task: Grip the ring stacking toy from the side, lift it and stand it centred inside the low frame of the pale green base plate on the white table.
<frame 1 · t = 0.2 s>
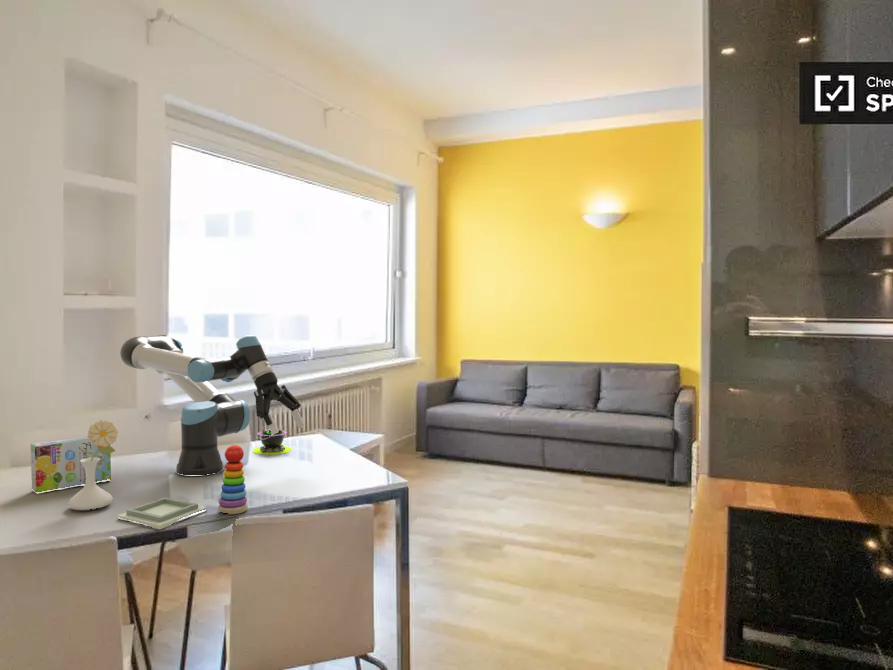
hand: (289, 430, 223), 15 cm above the table, tool tilted 35°, fingers open, 13 cm apart
snack box: (72, 487, 205), on the table
stacking toy: (233, 511, 184), on the table
toy cauldron: (272, 451, 257), on the table
base plate: (162, 515, 179), on the table
flower in vase: (94, 507, 185), on the table
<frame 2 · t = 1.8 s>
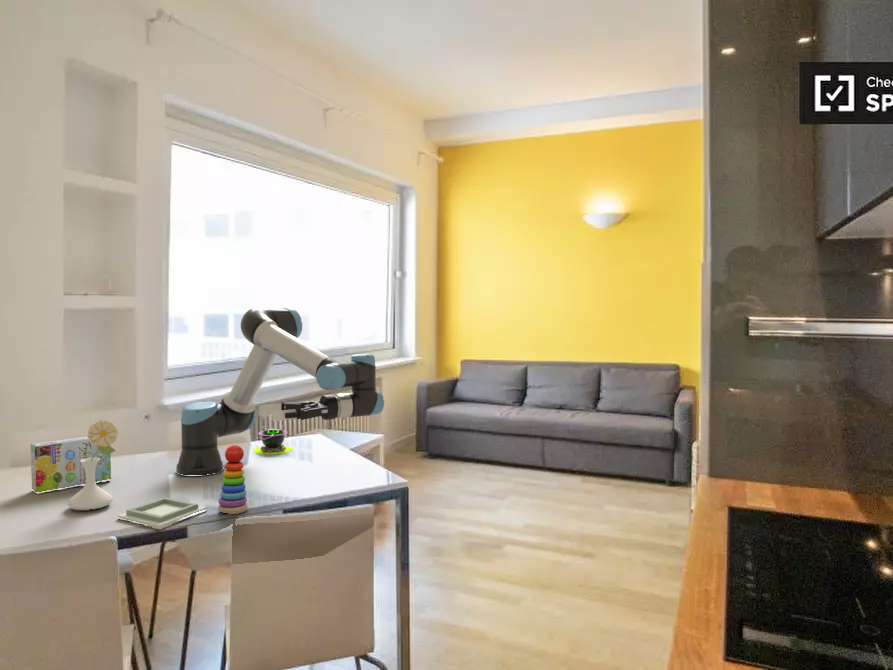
hand: (265, 413, 188), 27 cm above the table, tool horizontal, fingers open, 13 cm apart
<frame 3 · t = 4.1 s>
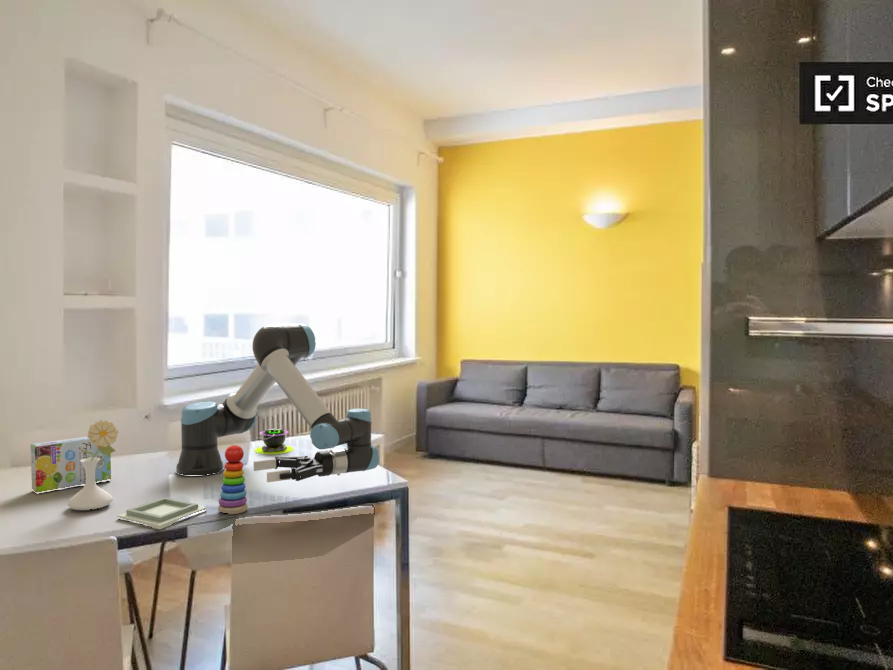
hand: (260, 471, 187), 10 cm above the table, tool horizontal, fingers open, 13 cm apart
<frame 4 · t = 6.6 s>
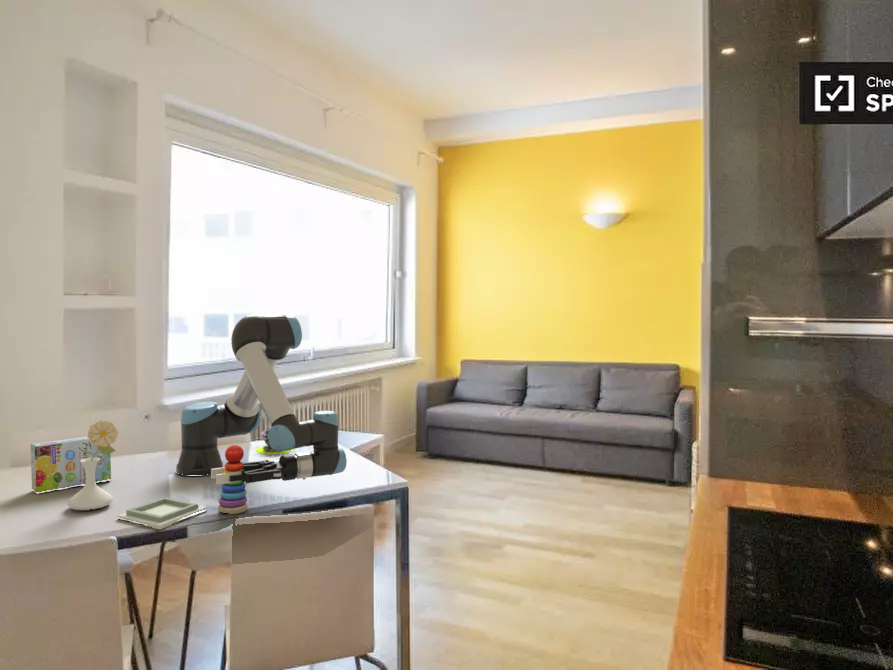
hand: (214, 476, 181), 11 cm above the table, tool horizontal, fingers closed on stacking toy, 6 cm apart
stacking toy: (233, 511, 184), on the table, touching gripper
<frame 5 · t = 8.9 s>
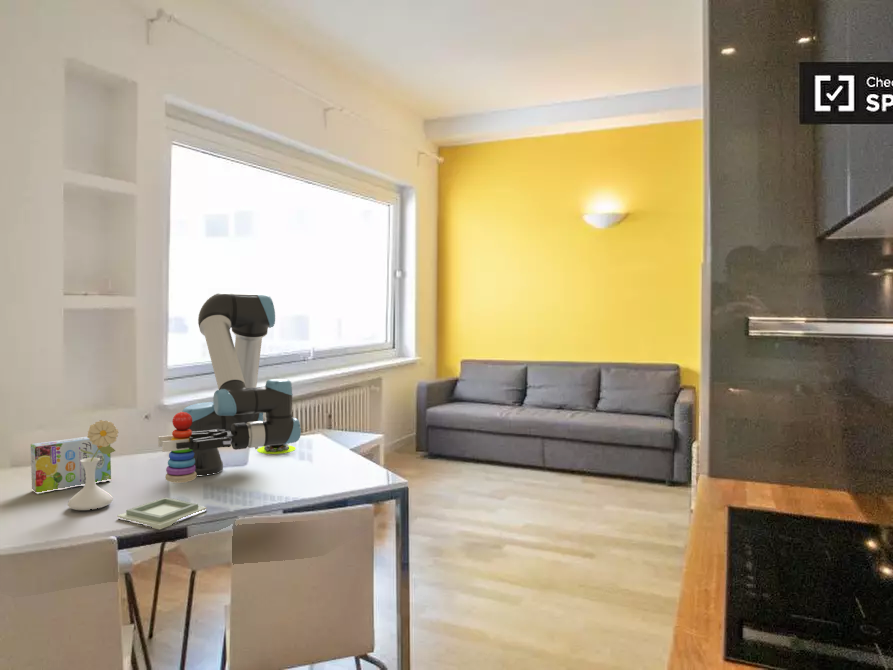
hand: (160, 444, 175), 21 cm above the table, tool horizontal, fingers closed on stacking toy, 6 cm apart
stacking toy: (181, 480, 179), point 10 cm above the table, touching gripper
when the fingers open (13 cm above the table, at t = 11.4 s): stacking toy drops 1 cm, resting on base plate.
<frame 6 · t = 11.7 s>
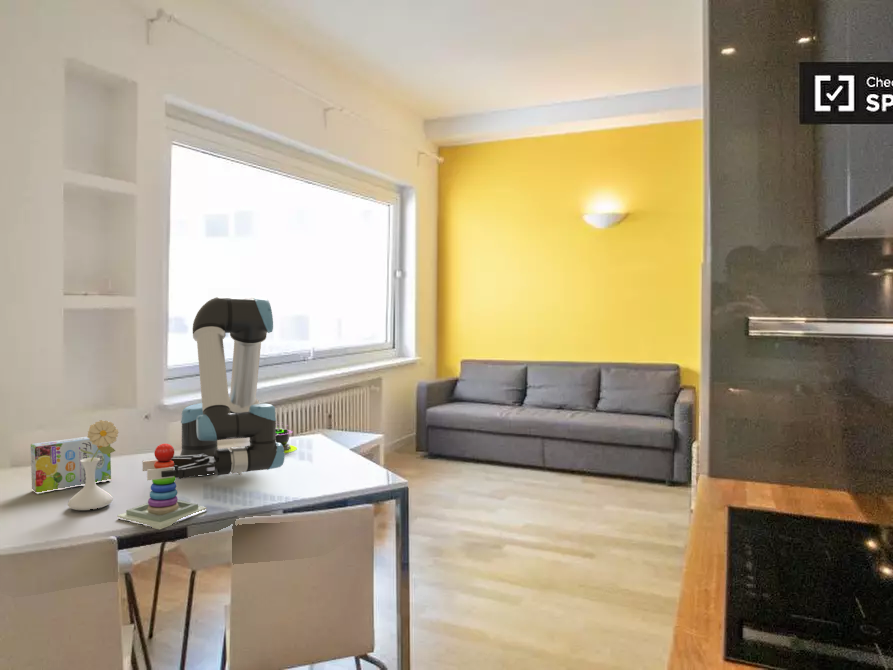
hand: (145, 470, 176), 13 cm above the table, tool horizontal, fingers open, 9 cm apart
stacking toy: (163, 511, 179), point 1 cm above the table, touching base plate
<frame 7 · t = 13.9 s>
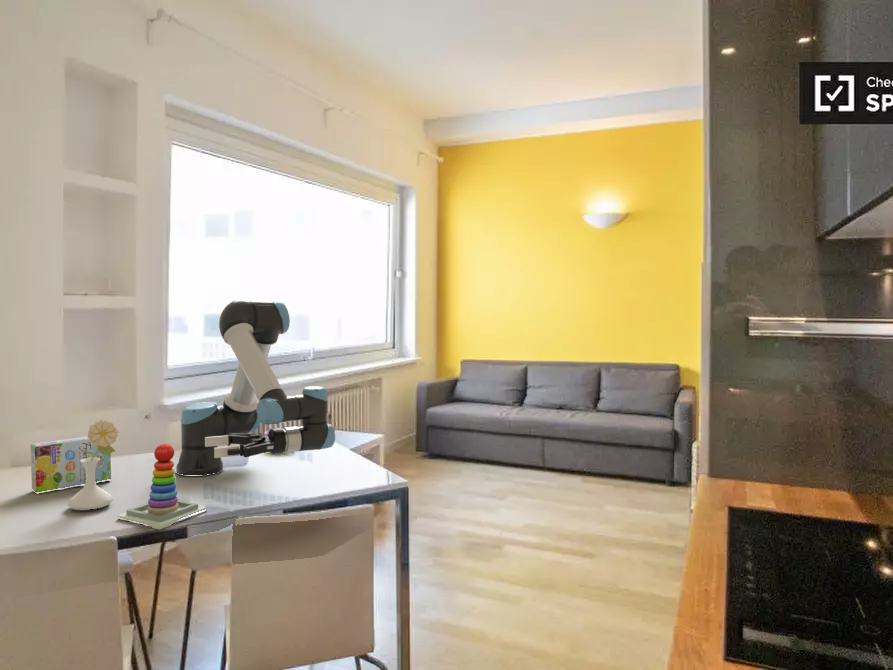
hand: (209, 447, 184), 18 cm above the table, tool horizontal, fingers open, 13 cm apart
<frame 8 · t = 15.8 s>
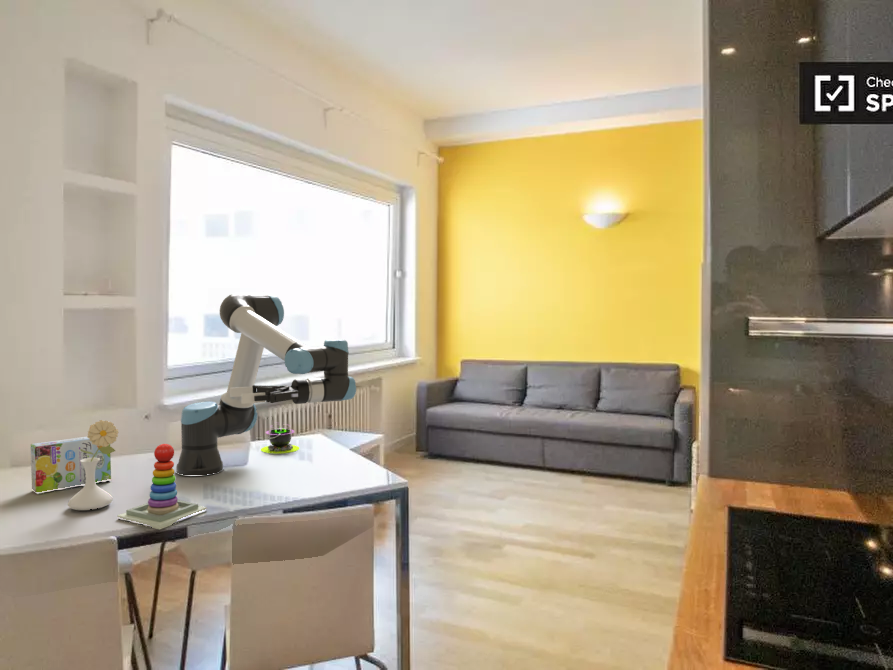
hand: (235, 395, 188), 32 cm above the table, tool horizontal, fingers open, 13 cm apart
at the end: stacking toy 0.1 cm off-centre on the base plate, point 1.0 cm above the base plate's base; stacking toy tilted 0°; the gripper is holding nothing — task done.
